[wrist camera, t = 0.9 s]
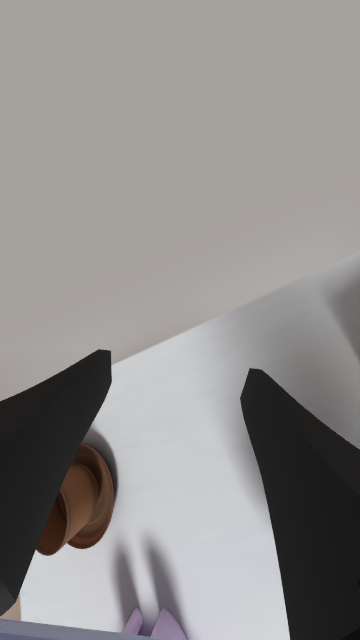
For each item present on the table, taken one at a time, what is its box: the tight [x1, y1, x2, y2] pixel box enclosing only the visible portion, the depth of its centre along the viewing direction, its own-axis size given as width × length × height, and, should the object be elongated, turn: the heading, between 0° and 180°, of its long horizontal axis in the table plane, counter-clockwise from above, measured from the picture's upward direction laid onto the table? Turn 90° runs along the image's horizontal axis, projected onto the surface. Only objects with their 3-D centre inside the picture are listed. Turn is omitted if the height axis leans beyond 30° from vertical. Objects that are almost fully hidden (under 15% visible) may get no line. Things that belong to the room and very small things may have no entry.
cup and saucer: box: [36, 444, 114, 556], centre depth 26 cm, size 12×12×6 cm
